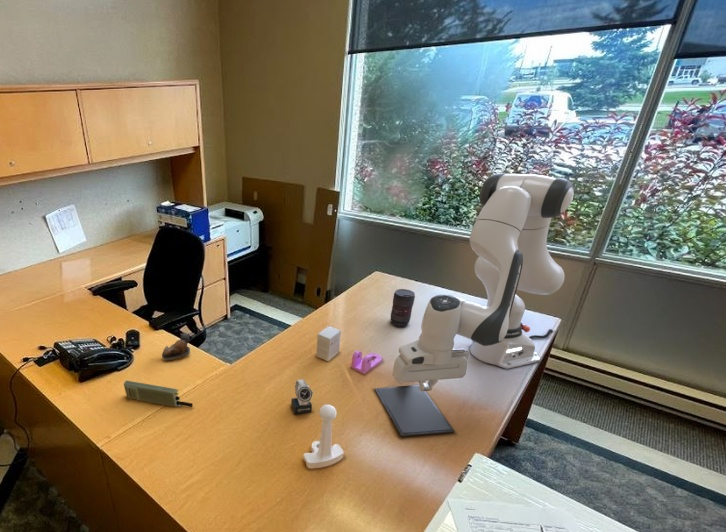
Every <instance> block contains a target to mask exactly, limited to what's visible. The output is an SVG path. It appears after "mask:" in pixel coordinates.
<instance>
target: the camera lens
mask: <svg viewBox="0 0 726 532" xmlns="http://www.w3.org/2000/svg"><path fill="white" fill-rule="evenodd" d="M415 293H416V292H414V291H412V290H410V289H405V288H399V289H395V291H394V293H393V297H392V305H391V311H390V323H391V325H392V326H393V327H395V328H406V327H407V326H408V325H409V323H410V321H411V317H412V311H413V307H414V303H415V298H416V294H415Z"/></svg>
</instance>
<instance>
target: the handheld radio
mask: <svg viewBox="0 0 726 532" xmlns="http://www.w3.org/2000/svg"><path fill="white" fill-rule="evenodd" d="M123 387H124V391H125V394H126V398H127V399H130V400H131V399H132V400H136V401H140V402H141V401H142V402H148V403H152V404H158V405H163V406H169V407H174V408H176V407H181V406H183V407H188V408H193V403H192V402H187V401H180V396H179V389H177V388H174V387H173V388H172V387H167V386H163V385H156V384H151V383H143V382H137V381H133V380H125V381H124V382H123Z"/></svg>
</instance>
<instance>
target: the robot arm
mask: <svg viewBox="0 0 726 532" xmlns="http://www.w3.org/2000/svg"><path fill="white" fill-rule="evenodd" d="M574 190H575V187H574V185H573V183H572V181H570V180H569V179H566V178H562V177H551V176H548V175H540V174H533V173H531V174H526V173H525V174H523V173H506V172H499V173H493V174H491V175H490V176H488V177H487V178H486V180H484V182H483V184H482V186H481V187H480V191H479V199H478V200H479V203H480V205H481V206H482V209H481V211H480V212H479V214H478V216H477V218H476V220H475V222H474V225H473V227H472V229H471V231H470V234H469V239H468V240H469V246H470V248H471V250H472V251H473V252H474V253H475V254H476V256H478V257H477V258H476V260H475V262H474V267H473V270H474V274H475V276H476V277H477V278H478V279H479V281H480V282H481V283H482V284H483V286H484V288H485V292H486V295H487V303H486V305H482V304H480V303H476V302H474V301H473V302H472V301H470V300H467V299H464V298H461V297H457V296H454V295H451V294H438V295H434V296H433V297H431V298H430V299H429V301H428V303H427V305H426V307H425V310H424V313H423V316H422V319H421V325H420V329H421V333H420V335H419V337H418V339H417V340H414V341H412V342H409V343H407V344H404V345H401V346H399V348H398V353H399V354H398V356H397V357H396V358H395V360H394V362H393V367H392V372H391V373H392V374H391V375H392V377H393V378H394V380H395V382H397V383H399V384H402V383H415V382H416V383H417V382H418V383H419V385H420V386H419V389H420V390H421V391H426V392H431V391H432V390H433V387H434V386H435V385H436V384H437V383H438V382H439V381H441V380H451V379H463V378H464V377H465V376H466V375H467V372H468V360H469V358H470V353H471V355H472V356H473V357H475V358H476V359H477V360H480V361H481V362H483V363H486V364H489V365H490V364H491V365H495V366H498V367H500V368H501V369H506V370H508V369H514V368H517V367H521V366H526V365H530V364H535V363H540V360H541V357H540V354H539V353H538V352H537V351H536V350H535V349H536V344H535V343H534V341H533V340H532V339H536V338H537V339H544V338H547V337H549V336H550V335H551V333H553V332H554V331H553V329H551V328H549V329H548V331H547V332H546V333H545V334H544V335H538V334H534V335H529V336H528V335H527V334H525V333H529V332H530V331H531V327H529V326H528V325H527V324H523V323H522V319H523V317H524V314H525V311H526V305H525V302H524V300H523V299H522V298H521V297H519V296H518V294H517V290H518V291H521V292H524V293H529V294H533V295H542V296H544V295H545V296H549V295H553V294H554V293H556V292H557V291H559V290H560V289H561V287H562V286H563V285H564V283H565V277H566V276H565V275H566V274H565V271H564V269H563V267H562V266H561V265H559V264H558V263H557V262H556V261H555V260H554V259H553V257H552V256H551V254H550V252H549V250H548V245H547V241H548V234H549V230H550V225H551V221H552V219H553V218H558V217H559V216H562V215H563V214H564V213H565V212H566V210H567V209H568V208H569V207H570V205H571V204H572V202H573V199H574V193H575V191H574ZM456 335H458V336H460V337H463V338H466V339H468V340H471V341H472V342H473V343H472V345H470V347H469V350H468V349H466V348H455V347H454V346H455V337H456Z"/></svg>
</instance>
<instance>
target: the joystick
mask: <svg viewBox="0 0 726 532" xmlns="http://www.w3.org/2000/svg"><path fill="white" fill-rule="evenodd" d="M337 412H338V411H337V409H336V408H335V407H334V406H333V405H331V404H323V405H321V407H320V409H319V410H318V414H319V418H320V419H321V420H322V422H321V430H320V436H319V440H315V441H313V442H312V443H311V448H310V449H311V452H304V453H303V458H302V459H303V461H304V462H305V466H306V467H307V468H308V469H320V468H325V467H329V466H332V465H334V464H337V463H338V462H340V461H341V460H343V458H344V453H345V451H344V450H343V448H342V446H340V445H339V443H335V444H333V445H332V438H333V437H332V435H333V434H332V433H333V432H332V431H333V429H332V428H333V421H335V419H336V418H337Z"/></svg>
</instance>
